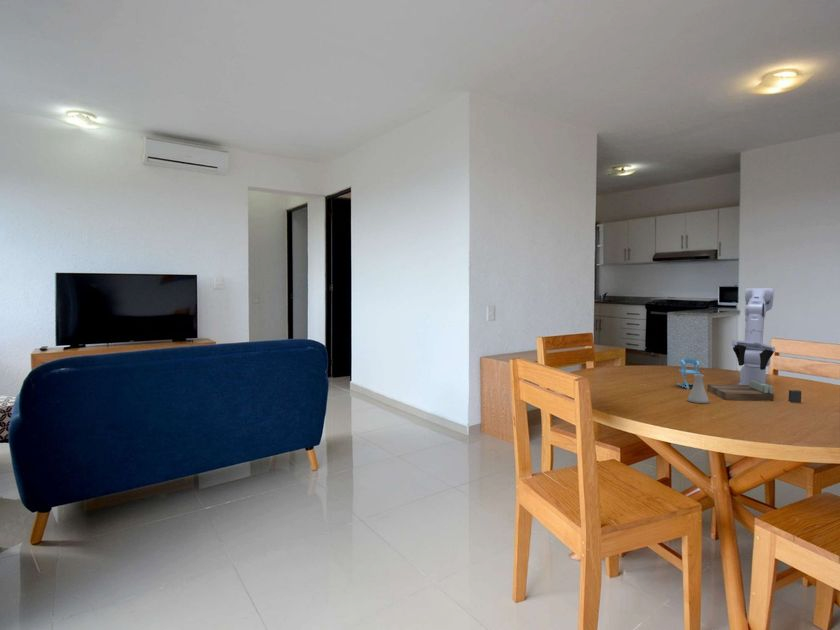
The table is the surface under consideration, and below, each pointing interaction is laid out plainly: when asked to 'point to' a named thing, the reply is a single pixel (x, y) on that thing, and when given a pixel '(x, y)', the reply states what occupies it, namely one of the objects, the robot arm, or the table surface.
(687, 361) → the chair
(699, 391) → the flask
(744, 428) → the table surface
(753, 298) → the robot arm
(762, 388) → the folding leg
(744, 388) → the stool seat
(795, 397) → the block
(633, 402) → the table surface
